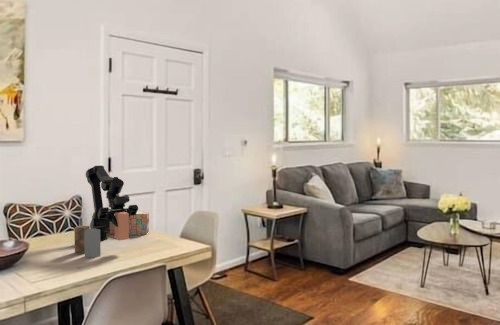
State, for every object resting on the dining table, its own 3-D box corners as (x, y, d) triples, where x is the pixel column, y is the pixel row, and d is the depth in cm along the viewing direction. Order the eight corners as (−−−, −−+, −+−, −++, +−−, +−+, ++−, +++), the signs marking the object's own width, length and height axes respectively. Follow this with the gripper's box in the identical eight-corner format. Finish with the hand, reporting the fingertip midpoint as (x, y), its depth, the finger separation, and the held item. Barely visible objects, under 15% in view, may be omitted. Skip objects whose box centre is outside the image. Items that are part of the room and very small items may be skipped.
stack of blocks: (109, 235, 249) (109, 213, 248) (112, 232, 255) (112, 211, 254) (147, 234, 250) (147, 213, 249) (149, 232, 256) (149, 211, 255)
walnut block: (74, 253, 208) (74, 227, 207) (80, 250, 213) (79, 225, 212) (84, 253, 207) (84, 228, 207) (89, 251, 212) (89, 225, 212)
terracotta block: (114, 238, 210) (114, 212, 209) (125, 237, 213) (124, 211, 212) (118, 240, 206) (118, 214, 205) (128, 239, 209) (128, 213, 208)
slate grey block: (84, 256, 203) (84, 229, 203) (94, 254, 207) (94, 228, 206) (90, 258, 200) (90, 231, 199) (100, 255, 204) (100, 229, 203)
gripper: (99, 191, 206) (107, 217, 197) (136, 188, 217) (146, 213, 209) (94, 205, 212) (101, 231, 204) (130, 202, 224) (139, 227, 215)
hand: (122, 225), depth 208 cm, fingers closed on terracotta block, 5 cm apart
